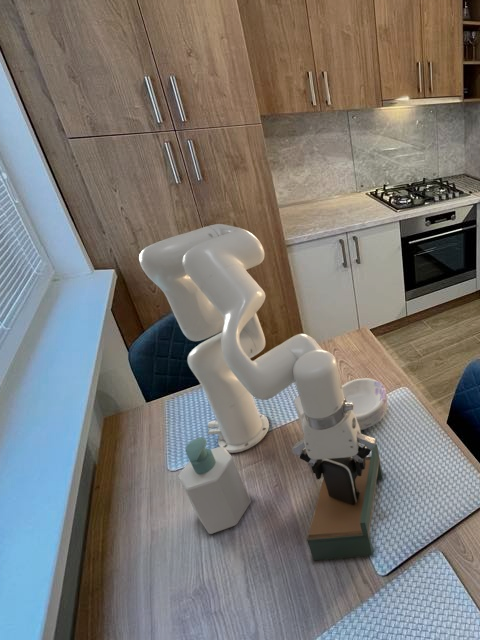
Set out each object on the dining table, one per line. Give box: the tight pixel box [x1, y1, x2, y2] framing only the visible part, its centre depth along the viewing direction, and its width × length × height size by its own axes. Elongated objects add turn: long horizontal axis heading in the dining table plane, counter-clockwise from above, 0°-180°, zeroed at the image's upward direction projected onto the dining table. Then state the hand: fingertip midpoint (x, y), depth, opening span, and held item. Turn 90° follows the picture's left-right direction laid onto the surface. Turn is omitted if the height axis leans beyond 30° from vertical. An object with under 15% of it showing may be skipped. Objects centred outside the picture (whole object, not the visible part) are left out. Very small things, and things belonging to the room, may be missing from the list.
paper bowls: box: [341, 377, 389, 431], centre depth 114 cm, size 15×15×8 cm
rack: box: [306, 443, 384, 561], centre depth 89 cm, size 12×18×11 cm, turn 4°
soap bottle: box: [177, 437, 251, 535], centre depth 88 cm, size 10×9×22 cm
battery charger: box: [321, 457, 360, 505], centre depth 86 cm, size 7×4×11 cm, turn 70°
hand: (340, 471), depth 85 cm, fingers open, 7 cm apart
